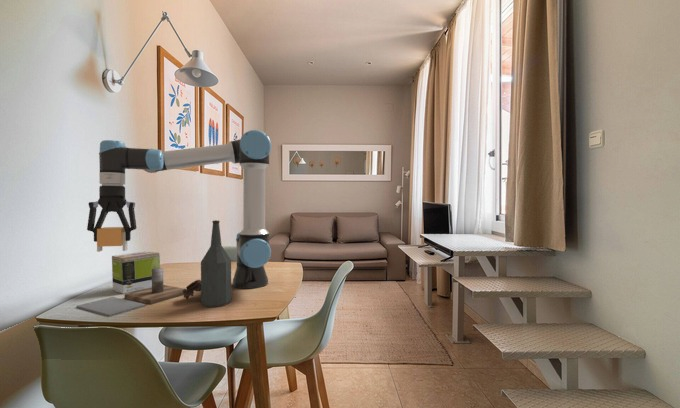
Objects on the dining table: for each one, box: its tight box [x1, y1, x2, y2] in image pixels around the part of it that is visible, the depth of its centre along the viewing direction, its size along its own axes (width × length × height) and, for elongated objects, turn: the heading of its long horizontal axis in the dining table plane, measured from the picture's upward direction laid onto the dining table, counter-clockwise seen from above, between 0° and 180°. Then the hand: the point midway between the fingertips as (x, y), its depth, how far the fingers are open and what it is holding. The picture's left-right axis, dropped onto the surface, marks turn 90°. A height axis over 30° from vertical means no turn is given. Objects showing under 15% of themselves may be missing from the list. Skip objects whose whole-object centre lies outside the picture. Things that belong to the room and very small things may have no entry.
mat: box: [75, 296, 147, 317], centre depth 118 cm, size 20×12×1 cm, turn 63°
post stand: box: [123, 267, 187, 305], centre depth 132 cm, size 16×16×10 cm
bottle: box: [200, 219, 232, 308], centre depth 122 cm, size 10×10×30 cm
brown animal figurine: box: [183, 279, 201, 300], centre depth 129 cm, size 12×10×8 cm
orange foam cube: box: [96, 226, 125, 248], centre depth 119 cm, size 7×7×6 cm
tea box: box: [111, 250, 161, 294], centre depth 143 cm, size 15×10×15 cm
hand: (112, 250), depth 119 cm, fingers closed on orange foam cube, 7 cm apart
